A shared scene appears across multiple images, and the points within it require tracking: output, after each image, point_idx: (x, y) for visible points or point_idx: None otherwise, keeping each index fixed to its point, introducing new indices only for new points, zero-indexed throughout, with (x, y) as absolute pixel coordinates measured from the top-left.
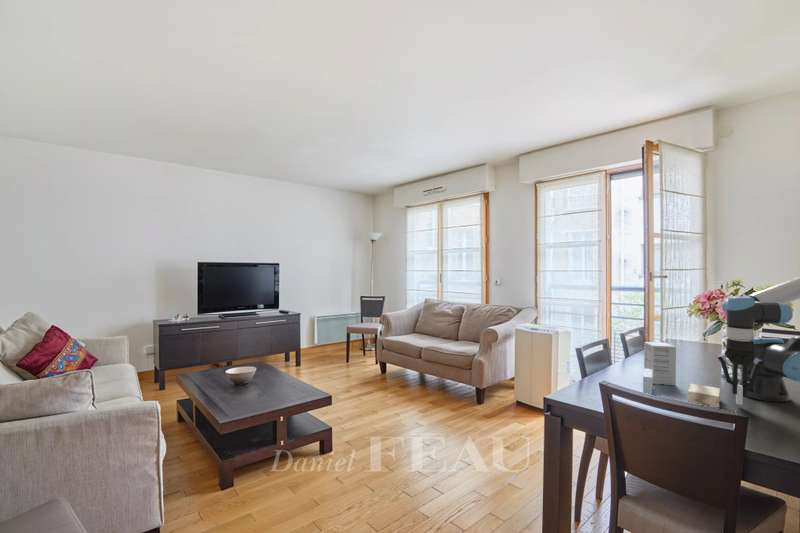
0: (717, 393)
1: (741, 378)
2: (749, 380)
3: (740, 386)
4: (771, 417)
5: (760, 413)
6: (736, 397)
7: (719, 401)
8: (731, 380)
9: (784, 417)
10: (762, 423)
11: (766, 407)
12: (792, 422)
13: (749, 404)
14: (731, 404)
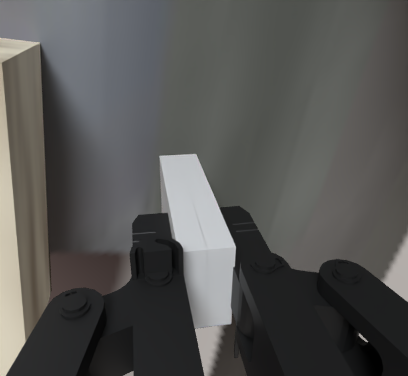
0: (6, 307)
1: (264, 339)
2: (353, 318)
3: (213, 311)
4: (313, 257)
5: (278, 220)
6: (164, 208)
7: (40, 164)
8: (120, 368)
9: (383, 215)
10: (240, 366)
11: (368, 42)
12: (384, 273)
13: (266, 28)
14: (130, 121)
